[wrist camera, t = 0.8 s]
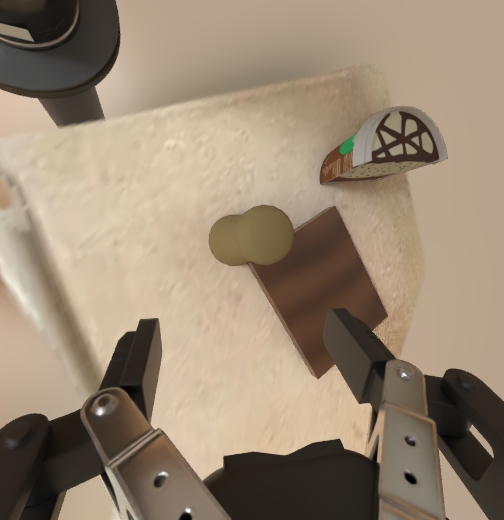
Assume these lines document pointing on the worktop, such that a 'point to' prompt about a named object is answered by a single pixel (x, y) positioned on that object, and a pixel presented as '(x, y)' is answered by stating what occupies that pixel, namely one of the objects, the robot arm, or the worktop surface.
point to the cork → (252, 237)
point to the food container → (385, 147)
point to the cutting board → (319, 286)
